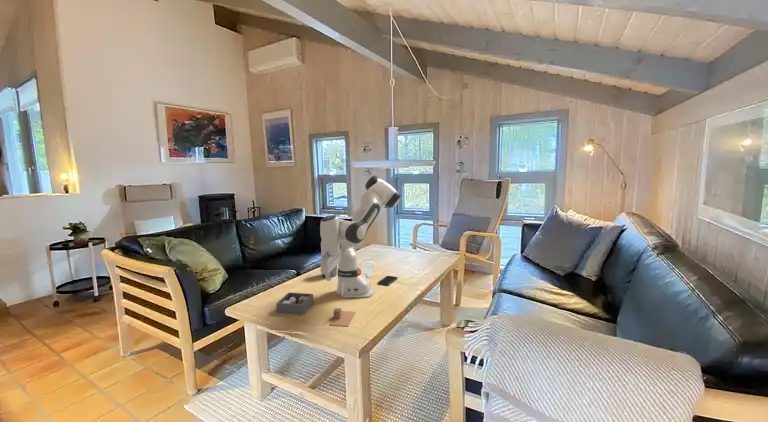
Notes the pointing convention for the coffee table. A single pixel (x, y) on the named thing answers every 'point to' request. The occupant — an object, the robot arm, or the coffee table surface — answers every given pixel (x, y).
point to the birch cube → (302, 299)
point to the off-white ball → (293, 300)
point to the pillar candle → (330, 273)
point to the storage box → (295, 307)
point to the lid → (342, 317)
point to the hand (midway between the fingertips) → (331, 276)
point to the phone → (387, 280)
